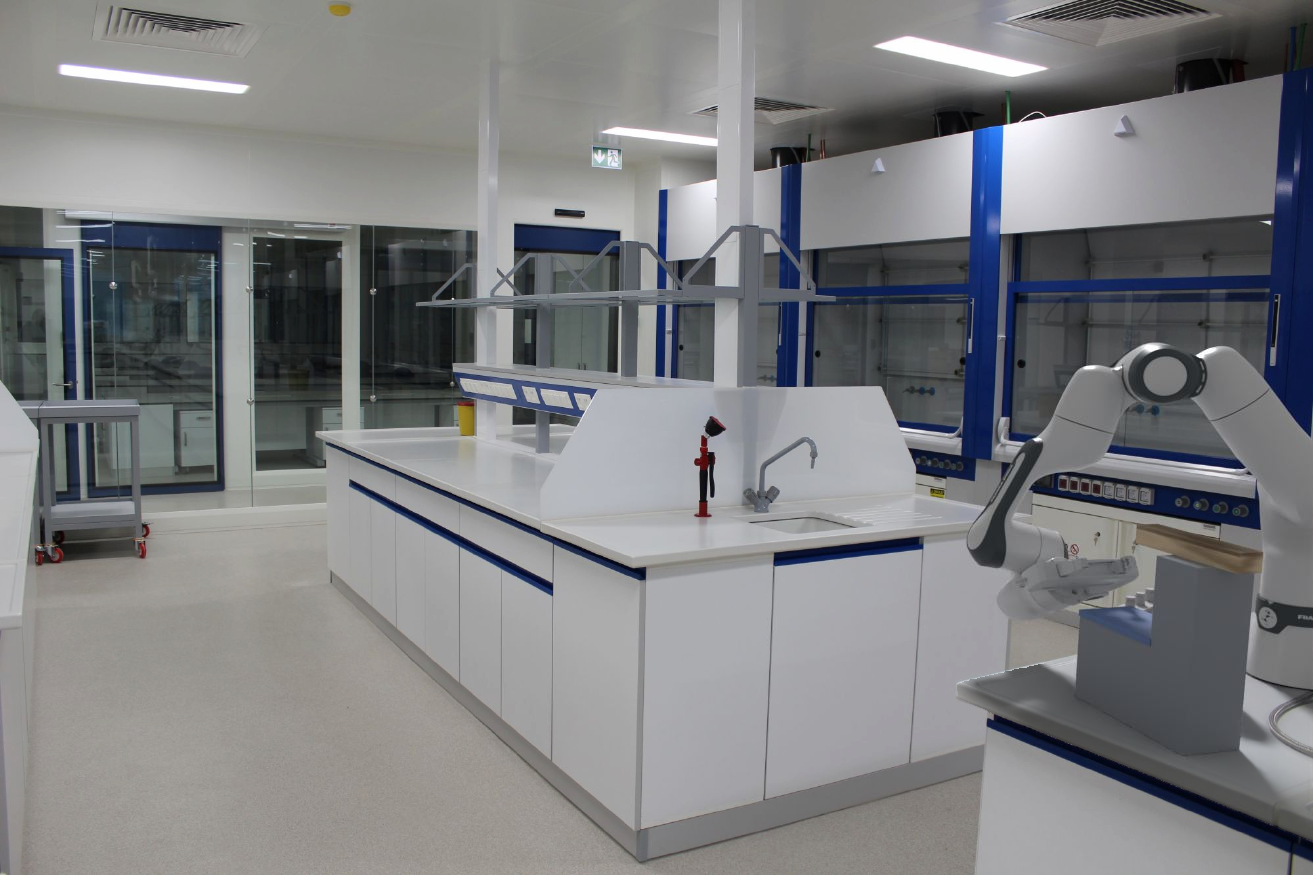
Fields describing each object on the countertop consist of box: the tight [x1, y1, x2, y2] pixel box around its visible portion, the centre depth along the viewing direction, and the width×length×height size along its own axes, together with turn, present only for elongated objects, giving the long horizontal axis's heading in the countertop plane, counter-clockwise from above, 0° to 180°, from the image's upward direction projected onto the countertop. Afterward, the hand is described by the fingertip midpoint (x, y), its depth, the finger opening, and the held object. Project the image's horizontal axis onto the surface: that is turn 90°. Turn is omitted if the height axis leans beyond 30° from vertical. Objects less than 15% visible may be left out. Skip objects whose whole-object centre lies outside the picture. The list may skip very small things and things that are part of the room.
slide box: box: [1135, 523, 1264, 574], centre depth 148 cm, size 4×20×3 cm, turn 15°
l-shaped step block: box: [1074, 554, 1256, 757], centre depth 155 cm, size 10×24×28 cm, turn 15°
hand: (1108, 561), depth 166 cm, fingers open, 8 cm apart
